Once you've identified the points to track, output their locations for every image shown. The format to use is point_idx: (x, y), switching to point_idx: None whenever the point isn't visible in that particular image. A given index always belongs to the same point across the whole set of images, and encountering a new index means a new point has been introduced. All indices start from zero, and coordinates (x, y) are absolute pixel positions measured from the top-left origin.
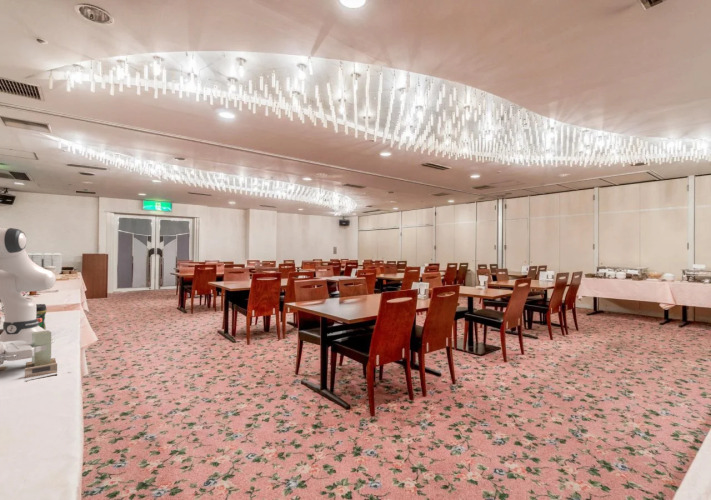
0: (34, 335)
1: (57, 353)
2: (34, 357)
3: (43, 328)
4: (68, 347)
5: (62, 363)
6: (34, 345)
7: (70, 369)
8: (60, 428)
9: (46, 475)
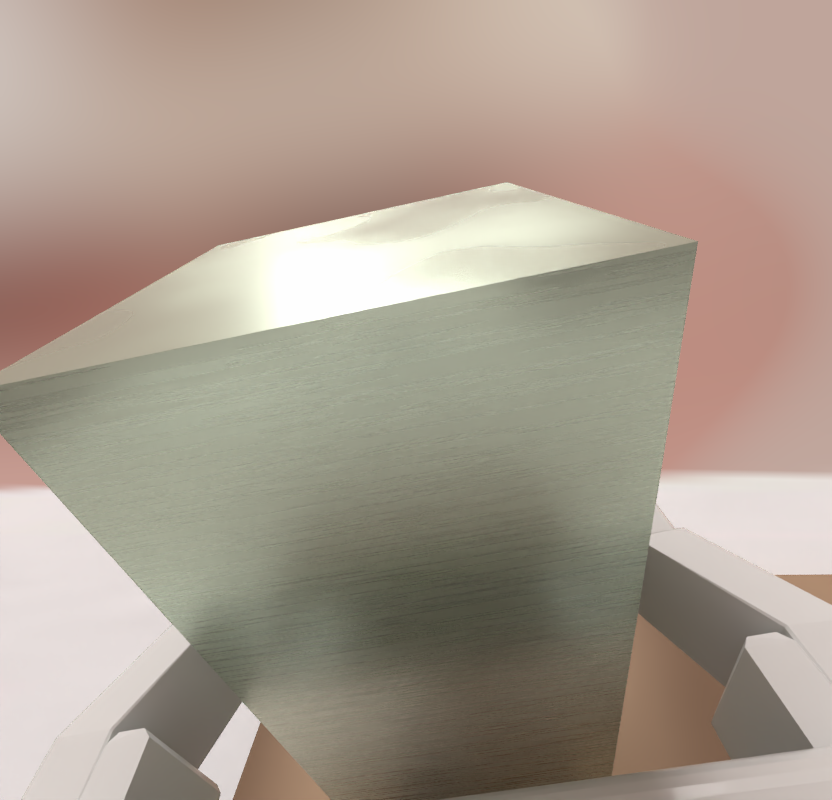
0: (593, 343)
1: (76, 574)
2: (596, 777)
3: None
4: (9, 514)
5: None
6: (591, 640)
7: (775, 501)
8: None
9: None
